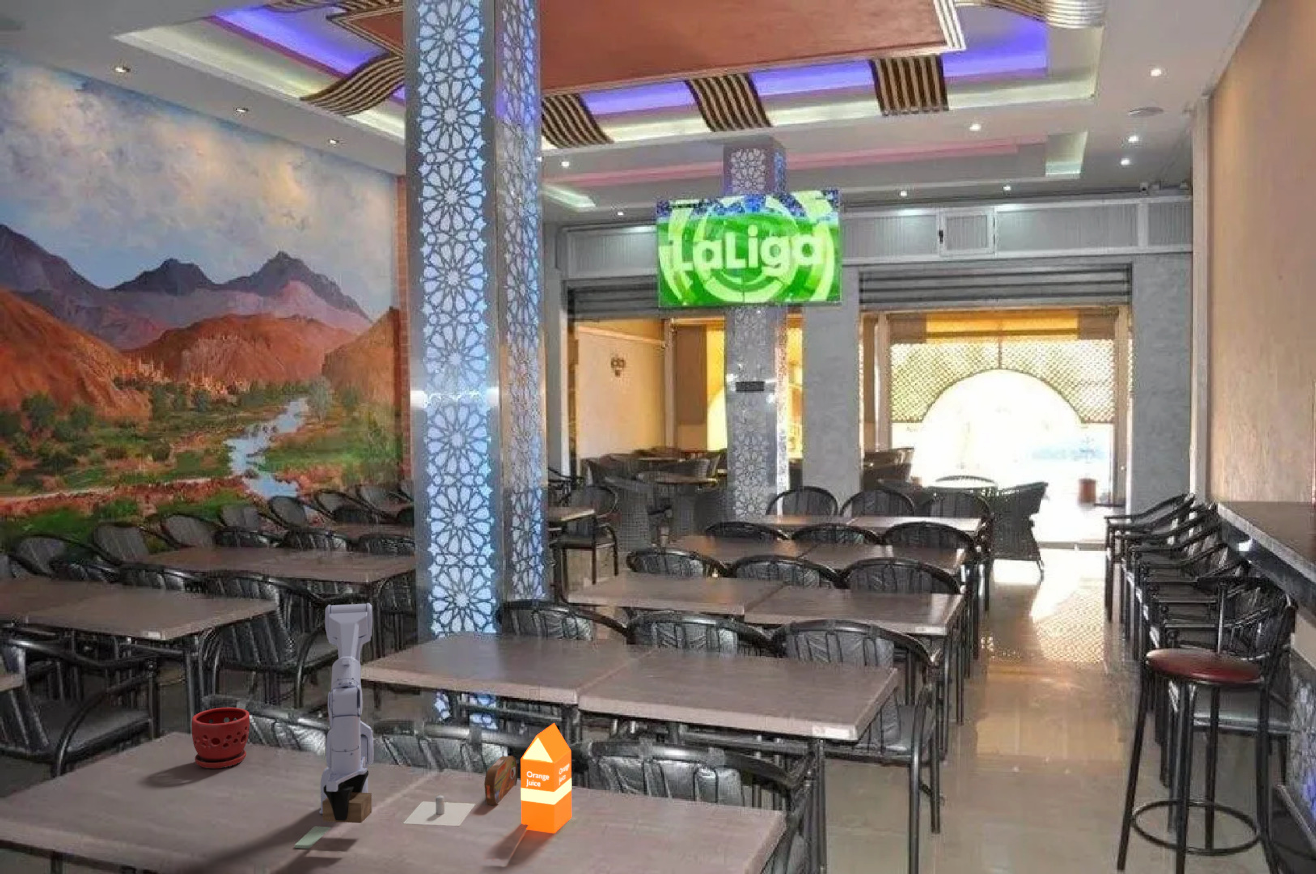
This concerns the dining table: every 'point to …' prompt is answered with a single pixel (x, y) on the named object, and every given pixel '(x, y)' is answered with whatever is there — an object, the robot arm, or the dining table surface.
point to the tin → (500, 779)
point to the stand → (439, 813)
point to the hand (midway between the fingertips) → (347, 814)
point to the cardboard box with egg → (351, 808)
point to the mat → (311, 837)
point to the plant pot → (220, 737)
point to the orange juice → (546, 782)
